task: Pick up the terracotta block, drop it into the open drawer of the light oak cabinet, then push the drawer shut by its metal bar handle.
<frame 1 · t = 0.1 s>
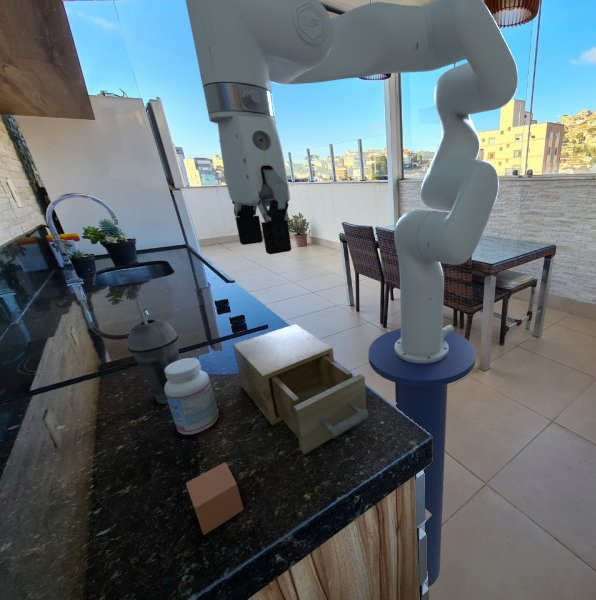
hand: (264, 247, 45), 29 cm above the counter, tool pointing down, fingers open, 9 cm apart
cabinet: (288, 389, 62), on the counter
pill bottle: (199, 423, 54), on the counter
block: (219, 509, 39), on the counter
drawer: (320, 399, 51), point 5 cm above the counter, slide at 9.0 cm
beverage cup: (171, 396, 61), on the counter
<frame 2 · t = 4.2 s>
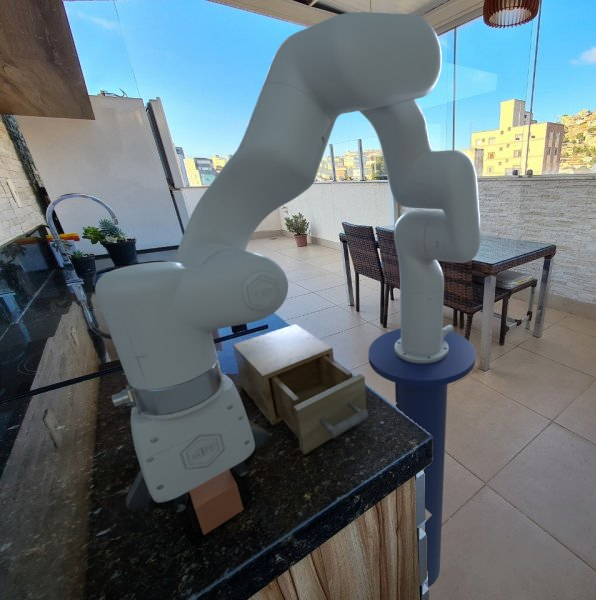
hand: (218, 507, 39), 0 cm above the counter, tool pointing down, fingers closed on block, 4 cm apart
block: (219, 509, 39), on the counter, touching gripper
everything else where it was.
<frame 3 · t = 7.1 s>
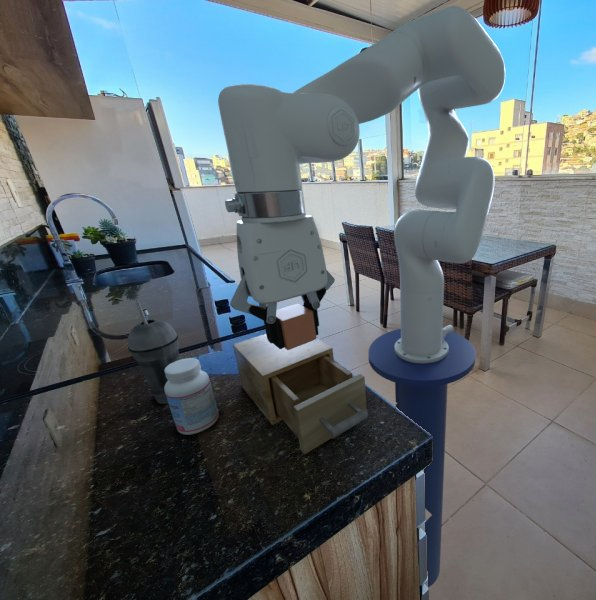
hand: (295, 337, 46), 17 cm above the counter, tool pointing down, fingers closed on block, 4 cm apart
block: (295, 339, 46), point 16 cm above the counter, touching gripper
everything else where it was.
when the fingers open (8 cm above the counter, at t = 9.9 s): block drops 6 cm, resting on drawer.
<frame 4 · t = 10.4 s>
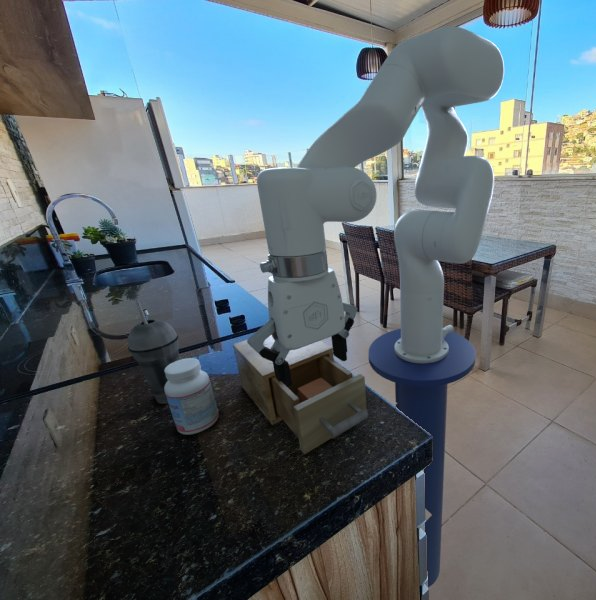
hand: (314, 369, 50), 10 cm above the counter, tool pointing down, fingers open, 9 cm apart
block: (319, 410, 53), point 2 cm above the counter, touching drawer
drawer: (320, 399, 51), point 5 cm above the counter, slide at 9.0 cm, touching block
everything else where it was.
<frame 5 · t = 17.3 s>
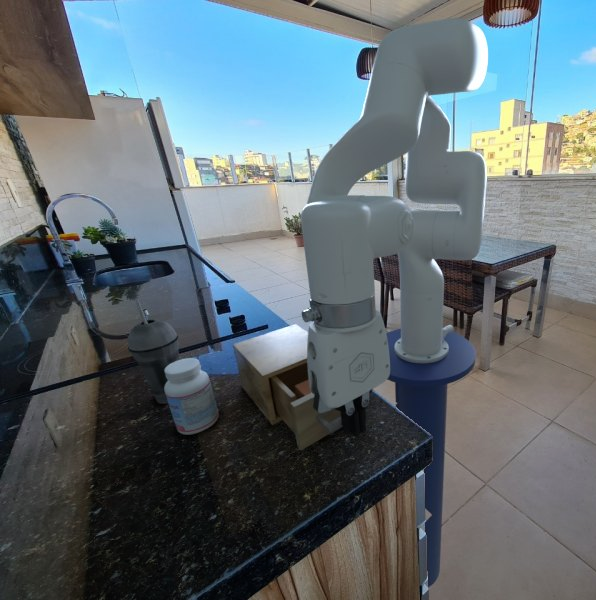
hand: (354, 428, 45), 5 cm above the counter, tool pointing down, fingers closed
block: (315, 407, 54), point 2 cm above the counter, touching drawer
drawer: (317, 396, 52), point 5 cm above the counter, slide at 8.0 cm, touching block, gripper
everything else where it was.
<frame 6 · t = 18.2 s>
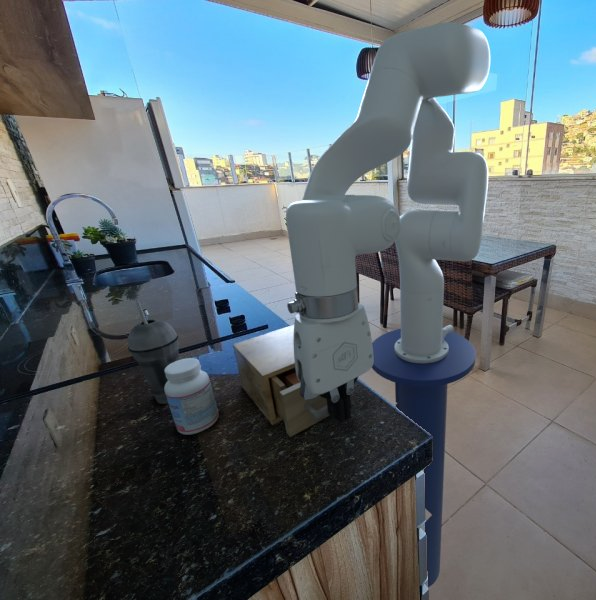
hand: (340, 416, 47), 5 cm above the counter, tool pointing down, fingers closed
block: (305, 397, 56), point 2 cm above the counter, touching drawer
drawer: (306, 387, 54), point 5 cm above the counter, slide at 4.4 cm, touching block, gripper
everything else where it was.
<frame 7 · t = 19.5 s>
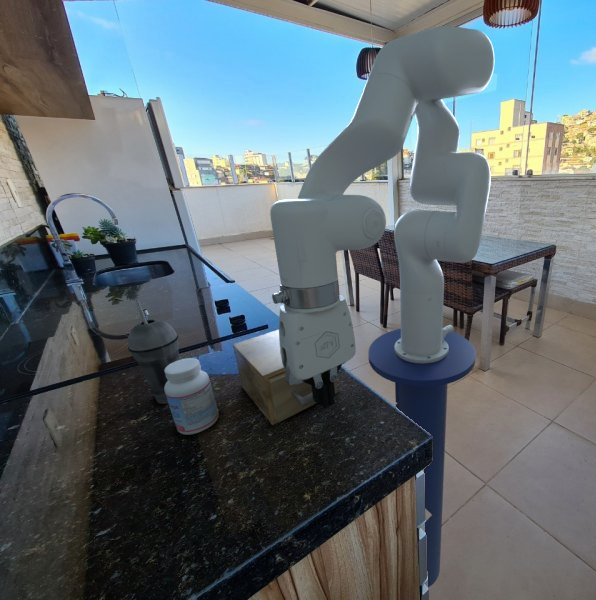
hand: (324, 402, 50), 5 cm above the counter, tool pointing down, fingers closed
block: (294, 387, 59), point 2 cm above the counter, touching drawer
drawer: (294, 376, 57), point 5 cm above the counter, slide at 0.0 cm, touching block, cabinet, gripper
everything else where it was.
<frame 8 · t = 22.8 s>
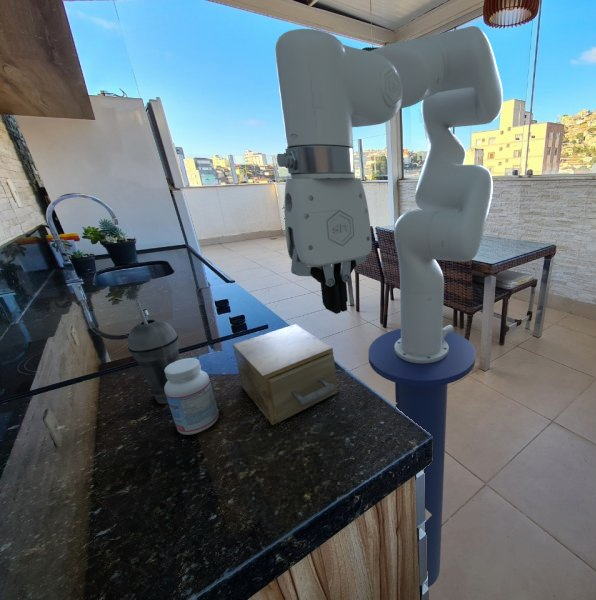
hand: (336, 309, 44), 21 cm above the counter, tool pointing down, fingers closed
drawer: (294, 376, 57), point 5 cm above the counter, slide at 0.0 cm, touching block, cabinet
everything else where it was.
at the end: block inside the target area in the cabinet (2.8 cm from its centre), point 2.0 cm above the cabinet's base; drawer slide at 0.0 cm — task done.
